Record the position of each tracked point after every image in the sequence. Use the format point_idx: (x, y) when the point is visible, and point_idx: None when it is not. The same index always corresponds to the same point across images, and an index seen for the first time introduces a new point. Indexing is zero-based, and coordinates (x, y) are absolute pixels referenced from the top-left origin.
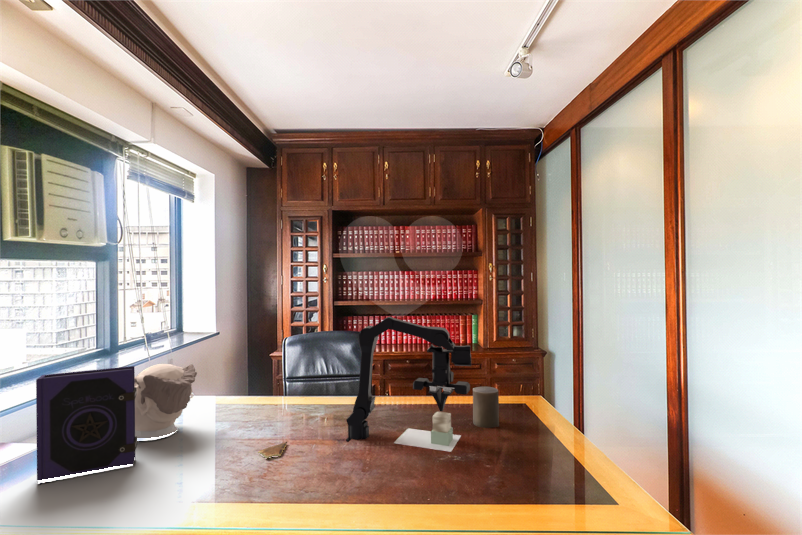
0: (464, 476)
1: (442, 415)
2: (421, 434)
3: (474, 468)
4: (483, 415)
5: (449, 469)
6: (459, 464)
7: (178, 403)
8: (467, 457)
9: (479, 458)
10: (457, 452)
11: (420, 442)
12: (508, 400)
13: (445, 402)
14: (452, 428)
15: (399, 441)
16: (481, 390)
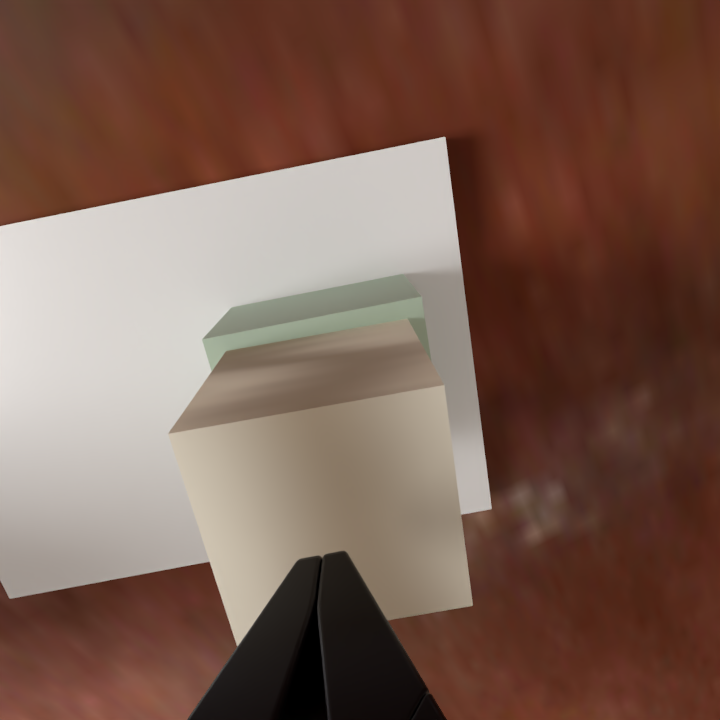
0: (654, 678)
1: (360, 549)
2: (75, 334)
3: (691, 579)
4: None
5: (548, 657)
6: (586, 581)
7: None
8: (609, 470)
9: (697, 442)
10: (513, 435)
11: (185, 489)
12: None
13: (413, 671)
14: (421, 306)
15: (25, 555)
16: None
